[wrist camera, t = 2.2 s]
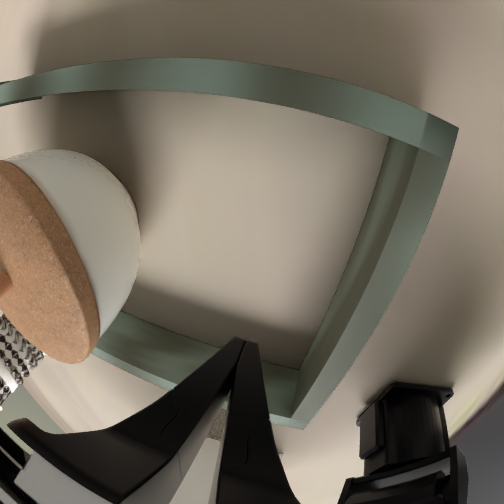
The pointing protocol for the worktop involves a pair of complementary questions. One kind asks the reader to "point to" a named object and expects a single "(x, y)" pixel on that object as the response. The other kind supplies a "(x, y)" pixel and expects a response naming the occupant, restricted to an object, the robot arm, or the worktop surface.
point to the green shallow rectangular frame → (366, 247)
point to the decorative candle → (15, 358)
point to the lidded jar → (64, 250)
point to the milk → (200, 476)
